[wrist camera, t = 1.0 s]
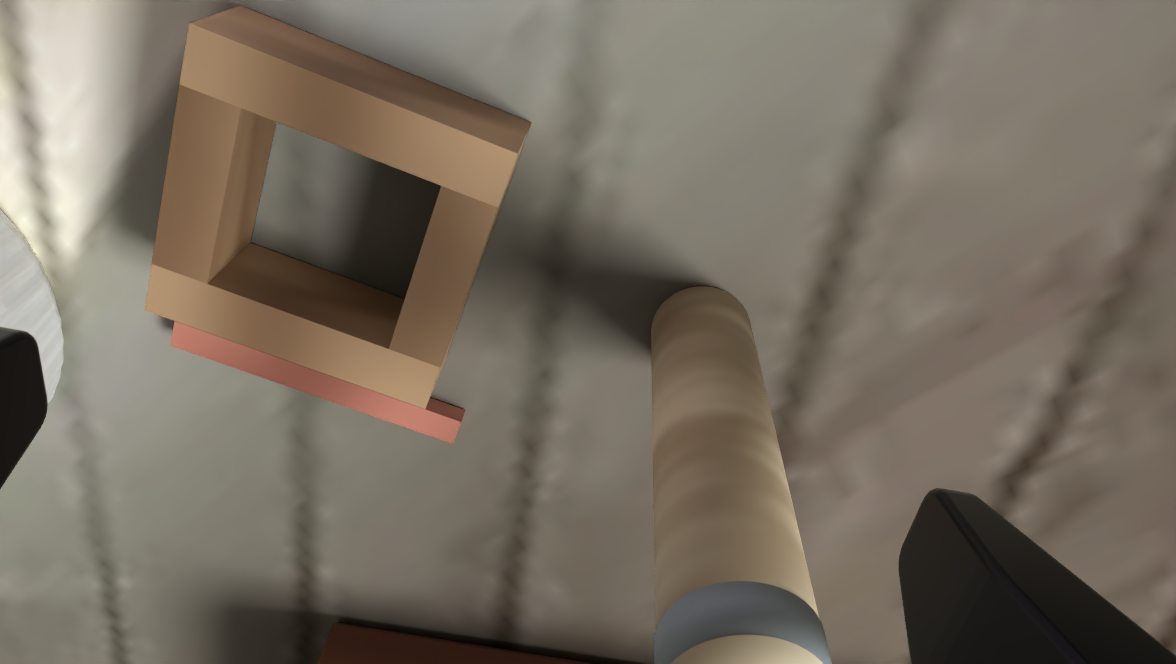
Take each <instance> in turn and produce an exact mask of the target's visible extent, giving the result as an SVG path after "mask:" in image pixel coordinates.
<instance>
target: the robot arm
mask: <svg viewBox="0 0 1176 664" xmlns="http://www.w3.org/2000/svg"><path fill="white" fill-rule="evenodd" d="M47 405H48V402H47V394H46V388H45V382H44V377H43V371H42V365H41V359H40V354H39V348H38V345H37V342H36V340H35V339H34V337H33V336H32V335H31V334H29V333H28V332H26V331H22V330H16V329H10V328H5V327H0V489H1V487H2V486H3V484H4V483H5V481H6V480H7V478H8V477H9V475H10V474H11V472H12V470H13V469H14V467H15V466H16V464H17V463H18V461H19V460H20V458H21V457H22V455H23V454H24V452H25V451H26V449H27V448H28V446H29V445H30V443H31V442H32V440H33V439H34V437H35V435H36V434H37V432H38V431H39V429H40V428H41V426H42V424H43V422H44V419H45V417H46V413H47ZM899 577H900V585H901V592H902V600H903V607H904V615H905V622H906V630H907V638H908V645H909V653H910V660H911V664H1176V655H1175V654H1173V653H1172V652H1171V651H1170V650H1168V649H1167V648H1166V647H1165V646H1163V645H1162V644H1161V643H1160V642H1158V641H1157V640H1156V639H1155V638H1153V637H1152V636H1151V635H1150V634H1148V633H1147V632H1146V631H1145V630H1143V629H1142V628H1141V627H1140V626H1138V625H1137V624H1136V623H1135V622H1133V621H1132V620H1131V619H1130V618H1128V617H1127V616H1126V615H1125V614H1123V613H1122V612H1121V611H1120V610H1118V609H1117V608H1116V607H1115V606H1113V605H1112V604H1111V603H1109V602H1108V601H1107V600H1106V599H1105V598H1103V597H1102V596H1101V595H1099V594H1098V593H1097V592H1096V591H1094V590H1093V589H1092V588H1091V587H1089V586H1088V585H1087V584H1086V583H1084V582H1083V581H1082V580H1081V579H1079V578H1078V577H1077V576H1076V575H1074V574H1073V573H1072V572H1071V571H1069V570H1068V569H1067V568H1066V567H1064V566H1063V565H1062V564H1061V563H1059V562H1058V561H1057V560H1056V559H1054V558H1053V557H1052V556H1051V555H1049V554H1048V553H1047V552H1046V551H1044V550H1043V549H1042V548H1041V547H1039V546H1038V545H1037V544H1036V543H1034V542H1033V541H1032V540H1031V539H1029V538H1028V537H1027V536H1026V535H1024V534H1023V533H1022V532H1021V531H1019V530H1018V529H1017V528H1016V527H1014V526H1013V525H1012V524H1011V523H1009V522H1008V521H1007V520H1006V519H1004V518H1003V517H1002V516H1001V515H999V514H998V513H997V512H996V511H994V510H993V509H992V508H991V507H989V506H988V505H987V504H986V503H984V502H983V501H982V500H981V499H979V498H978V497H977V496H975V495H973V494H970V493H965V492H959V491H953V490H947V489H941V488H936V489H933V490H931V491H929V492H928V494H927V495H926V496H925V498H924V499H923V501H922V503H921V506H920V508H919V510H918V512H917V514H916V517H915V519H914V521H913V523H912V525H911V528H910V530H909V532H908V534H907V537H906V539H905V541H904V543H903V546H902V548H901V552H900V556H899Z"/></svg>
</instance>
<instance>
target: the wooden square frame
mask: <svg viewBox="0 0 1176 664" xmlns="http://www.w3.org/2000/svg"><path fill="white" fill-rule="evenodd" d="M276 122H278V123H281V124H283V125H286V126H289V127H291V128H294V129H296V130H299V131H301V132H304V133H307V134H309V135H312V136H314V137H317V138H319V139H322V140H325V141H327V142H330V143H332V144H335V145H338V146H340V147H343V148H345V149H348V150H350V151H353V152H356V153H358V154H361V155H363V156H366V157H368V158H371V159H374V160H376V161H379V162H381V163H384V164H387V165H389V166H392V167H394V168H397V169H399V170H402V171H405V172H407V173H410V174H412V175H415V176H417V177H420V178H423V179H425V180H428V181H430V182H433V183H436V184H438V185H441V188H440V191H439V194H438V198H437V201H436V204H435V207H434V210H433V213H432V216H431V219H430V222H429V225H428V229H427V232H426V235H425V238H424V241H423V244H422V247H421V250H420V253H419V256H418V260H417V263H416V266H415V269H414V272H413V275H412V278H411V281H410V284H409V287H408V291H407V294H406V297H405V299H402V298H399V297H397V296H394V295H391V294H389V293H386V292H383V291H380V290H378V289H375V288H372V287H370V286H367V285H364V284H361V283H359V282H356V281H353V280H350V279H348V278H345V277H342V276H340V275H337V274H334V273H331V272H329V271H326V270H323V269H321V268H318V267H315V266H312V265H310V264H307V263H304V262H302V261H299V260H296V259H293V258H291V257H288V256H285V255H283V254H280V253H277V252H274V251H272V250H269V249H266V248H264V247H261V246H258V245H255V244H253V243H251V238H252V233H253V229H254V224H255V219H256V215H257V210H258V205H259V201H260V196H261V191H262V187H263V182H264V177H265V173H266V168H267V163H268V159H269V154H270V149H271V145H272V140H273V135H274V131H275V126H276ZM530 125H531V122H529V121H526V120H524V119H521V118H519V117H516V116H514V115H511V114H509V113H506V112H504V111H501V110H499V109H496V108H494V107H491V106H489V105H486V104H484V103H481V102H479V101H476V100H474V99H471V98H469V97H466V96H464V95H462V94H459V93H457V92H454V91H452V90H449V89H447V88H444V87H442V86H439V85H437V84H434V83H432V82H429V81H427V80H424V79H422V78H419V77H417V76H414V75H412V74H409V73H407V72H404V71H402V70H399V69H397V68H395V67H392V66H390V65H387V64H385V63H382V62H380V61H377V60H375V59H372V58H370V57H367V56H365V55H362V54H360V53H357V52H355V51H352V50H350V49H347V48H345V47H342V46H340V45H337V44H335V43H333V42H330V41H328V40H325V39H323V38H320V37H318V36H315V35H313V34H310V33H308V32H305V31H303V30H300V29H298V28H295V27H293V26H290V25H288V24H285V23H283V22H280V21H278V20H275V19H273V18H270V17H268V16H266V15H263V14H261V13H258V12H256V11H253V10H251V9H248V8H246V7H243V6H241V5H240V6H237V7H234V8H231V9H229V10H226V11H223V12H220V13H217V14H214V15H211V16H208V17H205V18H202V19H199V20H196V21H193V22H190V23H189V25H188V32H187V38H186V45H185V51H184V58H183V64H182V71H181V77H180V84H179V90H178V97H177V103H176V110H175V116H174V122H173V129H172V135H171V142H170V148H169V155H168V161H167V168H166V174H165V181H164V187H163V194H162V200H161V207H160V213H159V220H158V226H157V232H156V239H155V245H154V252H153V258H152V265H151V271H150V278H149V284H148V291H147V297H146V304H145V311H148V312H151V313H154V314H157V315H159V316H162V317H165V318H168V319H171V320H174V327H173V333H172V338H171V344H170V346H173V347H176V348H179V349H182V350H185V351H188V352H191V353H193V354H196V355H199V356H202V357H205V358H208V359H211V360H214V361H216V362H219V363H222V364H225V365H228V366H231V367H234V368H237V369H239V370H242V371H245V372H248V373H251V374H254V375H257V376H260V377H262V378H265V379H268V380H271V381H274V382H277V383H280V384H282V385H285V386H288V387H291V388H294V389H297V390H300V391H303V392H305V393H308V394H311V395H314V396H317V397H320V398H323V399H326V400H328V401H331V402H334V403H337V404H340V405H343V406H346V407H349V408H351V409H354V410H357V411H360V412H363V413H366V414H369V415H371V416H374V417H377V418H380V419H383V420H386V421H389V422H392V423H394V424H397V425H400V426H403V427H406V428H409V429H412V430H415V431H417V432H420V433H423V434H426V435H429V436H432V437H435V438H438V439H440V440H443V441H446V442H449V443H452V444H453V442H454V439H455V437H456V434H457V432H458V429H459V426H460V424H461V421H462V418H463V415H464V412H465V410H464V409H461V408H458V407H455V406H452V405H449V404H447V403H444V402H441V401H438V400H435V399H433V398H430V396H431V394H432V392H433V389H434V387H435V384H436V382H437V379H438V377H439V374H440V372H441V369H442V367H443V364H444V362H445V359H446V357H447V354H448V351H449V348H450V346H451V343H452V340H453V337H454V335H455V332H456V329H457V326H458V324H459V321H460V318H461V315H462V313H463V310H464V307H465V304H466V302H467V299H468V296H469V293H470V291H471V288H472V285H473V282H474V280H475V277H476V274H477V271H478V269H479V266H480V263H481V260H482V258H483V255H484V252H485V249H486V247H487V244H488V241H489V238H490V236H491V233H492V230H493V227H494V225H495V222H496V219H497V216H498V214H499V211H500V208H501V205H502V203H503V200H504V197H505V194H506V191H507V189H508V186H509V183H510V180H511V178H512V175H513V172H514V169H515V167H516V164H517V161H518V158H519V156H520V153H521V150H522V147H523V145H524V142H525V139H526V136H527V134H528V131H529V128H530Z"/></svg>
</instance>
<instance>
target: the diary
mask: <svg viewBox="0 0 1176 664" xmlns="http://www.w3.org/2000/svg"><path fill="white" fill-rule="evenodd" d="M317 664H594V663H588V662H581V661H575V660H569V659H563V658H556V657H550V656H544V655H538V654H531V653H525V652H519V651H513V650H506V649H500V648H494V647H488V646H481V645H475V644H469V643H462V642H456V641H450V640H444V639H437V638H431V637H425V636H419V635H412V634H406V633H400V632H394V631H387V630H381V629H375V628H369V627H362V626H356V625H350V624H344V623H336V624H334V625H333V627H332V630H331V632H330V634H329V637H328V639H327V642H326V644H325V646H324V649H323V651H322V653H321V656H320V658H319V661H318V663H317Z"/></svg>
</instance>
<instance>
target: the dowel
mask: <svg viewBox="0 0 1176 664" xmlns="http://www.w3.org/2000/svg"><path fill="white" fill-rule="evenodd" d="M651 359H652V423H653V488H654V552H655V617H656V631H655V637H654V664H832V662H831V658H830V653H829V649H828V645H827V641H826V637H825V632H824V629H823V626H822V623H821V621H820V619H819V615H818V611H817V607H816V603H815V598H814V594H813V590H812V585H811V581H810V577H809V573H808V568H807V564H806V560H805V555H804V551H803V547H802V543H801V538H800V534H799V530H798V526H797V521H796V517H795V513H794V508H793V504H792V500H791V496H790V491H789V487H788V483H787V478H786V474H785V470H784V466H783V461H782V457H781V453H780V449H779V444H778V440H777V436H776V431H775V427H774V423H773V419H772V414H771V410H770V406H769V401H768V397H767V393H766V389H765V384H764V380H763V376H762V372H761V367H760V363H759V359H758V354H757V350H756V346H755V342H754V337H753V333H752V329H751V324H750V320H749V317H748V314H747V312H746V310H745V308H744V307H743V305H742V304H741V303H740V302H739V301H738V300H737V299H736V298H735V297H734V296H733V295H731V294H729V293H728V292H726V291H723V290H721V289H718V288H714V287H707V286H697V287H690V288H687V289H683V290H681V291H679V292H676V293H675V294H673V295H671V296H670V297H669V298H667V299H666V300H665V301H664V302H663V303H662V304H661V305H660V307H659V308H658V310H657V311H656V313H655V315H654V318H653V321H652V326H651Z"/></svg>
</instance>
